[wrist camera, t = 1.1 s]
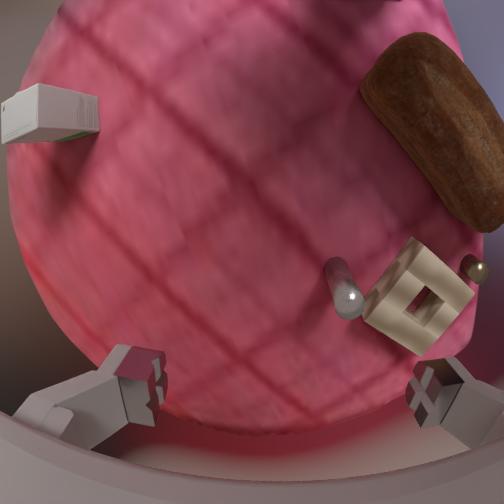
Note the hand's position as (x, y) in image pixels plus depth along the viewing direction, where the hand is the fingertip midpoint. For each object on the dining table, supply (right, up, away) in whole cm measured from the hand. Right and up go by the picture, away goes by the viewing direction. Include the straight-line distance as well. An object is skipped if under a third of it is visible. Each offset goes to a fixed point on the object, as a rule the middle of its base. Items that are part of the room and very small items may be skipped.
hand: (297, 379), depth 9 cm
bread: (+26, +21, +28) cm, 44 cm away
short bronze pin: (+35, +2, +34) cm, 49 cm away
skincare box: (-30, +26, +33) cm, 51 cm away
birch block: (+25, -3, +36) cm, 44 cm away
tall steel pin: (+11, +1, +36) cm, 38 cm away
